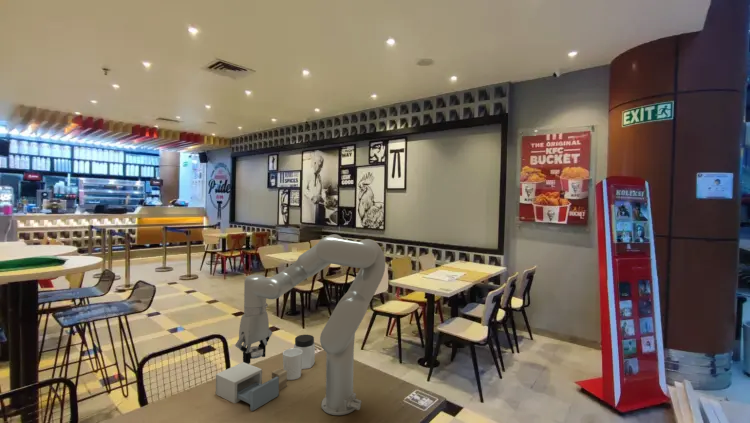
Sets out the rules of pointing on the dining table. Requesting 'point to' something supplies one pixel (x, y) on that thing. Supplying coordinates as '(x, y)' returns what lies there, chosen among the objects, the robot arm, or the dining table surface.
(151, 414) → the dining table surface
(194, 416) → the dining table surface
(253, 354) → the disc
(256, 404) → the blue-grey open box
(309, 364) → the jar
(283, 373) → the beige block
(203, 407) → the dining table surface
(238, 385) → the housing
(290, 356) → the white cup
